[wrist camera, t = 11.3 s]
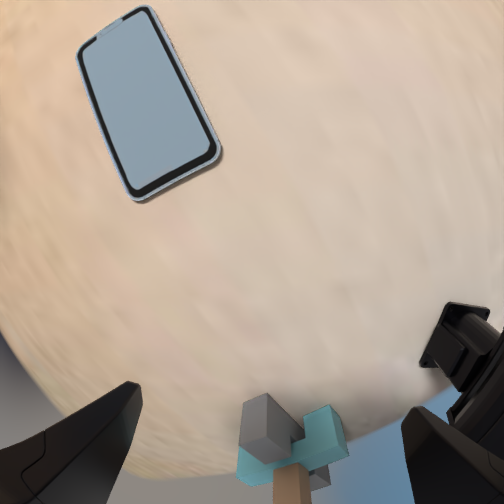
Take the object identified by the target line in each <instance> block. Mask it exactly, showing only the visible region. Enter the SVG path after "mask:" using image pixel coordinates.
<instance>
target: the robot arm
mask: <svg viewBox="0 0 504 504" xmlns="http://www.w3.org/2000/svg"><path fill="white" fill-rule="evenodd" d="M450 307H451V308H450ZM449 308H450V309H449ZM489 314H490V310H489V309H488V308H486V307H480V306H474V305H468V304H461V303H455V302H448V303H447V304H446V306H445V308H444V310H443V313H442V315H441V318H440V320H439V322H438V325H437V327H436V329H435V331H434V333H433V336H432V338H431V340H430V342H429V344H428V346H427V348H426V350H425V352H424V354H423V356H422V358H421V360H420V362H419V363H420V365H421V367H423V368H440V369H441V371H442V372H443V373H444V375H445V376H446V377H448V378H449V380H450V381H451V382H452V384H453V385H454V386H455V388H456V389H457V391H458V392H461V393H462V395H461V396H460V397H459V399H458V400H457V401H456V402H455V404H454V405H453V406H452V407H450V408H449V410H448V411H447V412H446V414H447V417H448V421H449V425H448V424H447V423H446V422H444V421H443V420H442V419H440V418H439V417H437V416H436V415H435V414H433V413H432V412H430V411H429V410H427V409H426V408H425V407H423V406H418V407H413V408H412V409H411V410H410V411H409V413H408V414H407V416H406V417H405V419H404V420H403V422H402V424H401V431H402V437H403V444H404V452H405V459H406V464H407V468H408V473H409V477H410V482H411V487H412V491H413V496H414V502H415V504H504V327H503V331H502V333H499V332H498V331H497V330H496V329H495V328H493V327H492V326H491V325H490V324H489V323H487V322H486V321H487V319H488V317H489ZM142 405H143V400H142V392H141V386H140V384H138V383H134V382H131V381H126V382H125V383H123V384H121V385H120V386H118V387H117V388H115V389H113V390H112V391H110V392H108V393H107V394H105V395H103V396H102V397H100V398H99V399H97V400H95V401H94V402H92V403H90V404H88V405H87V406H85V407H83V408H82V409H80V410H78V411H77V412H75V413H73V414H71V415H70V416H68V417H66V418H65V419H63V420H61V421H59V422H58V423H56V424H54V425H52V426H50V427H49V428H47V429H46V430H45V431H44V430H43V431H41V432H40V433H38V434H36V435H34V436H32V437H30V438H28V439H26V440H24V441H22V442H20V443H17V444H15V445H12V446H9V447H7V448H4V449H1V450H0V504H106V503H107V500H108V498H109V496H110V493H111V491H112V488H113V486H114V484H115V481H116V479H117V477H118V474H119V472H120V470H121V467H122V465H123V463H124V460H125V458H126V456H127V454H128V451H129V449H130V446H131V443H132V440H133V436H134V433H135V429H136V426H137V423H138V419H139V416H140V413H141V409H142Z"/></svg>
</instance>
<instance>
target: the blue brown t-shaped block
mask: <svg viewBox="0 0 504 504" xmlns="http://www.w3.org/2000/svg"><path fill="white" fill-rule="evenodd" d="M303 421H304V429H305V439H302V440H300V441H297V442H294V443H291V457H289V458H286V459H282V460H279V461H276V462H273V463H269V464H266V465H265V464H263V463H262V462H261V461H259V460H258V459H256V458H255V457H254V456H252V455H251V454H249V453H248V452H247V451H245V450H244V449H243V448H241V447H240V446H239V454H238V463H237V472H236V478H237V479H239V480H241V481H243V482H244V483H246V484H248V485H249V486H256V485H261V484H265V483H270V482H273V504H312V502H311V491H310V481H309V471H311V470H313V469H316V468H319V467H322V466H325V465H327V464H330V463H333V462H335V461H338V460H340V459H342V458H345V457H347V456H349V453H348V449H347V445H346V441H345V436H344V432H343V428H342V424H341V421H340V417H339V416H338V414H337V413H336V412H335V411H334V410H333V408H332V407H331V406H330V405H327V406H325V407H323V408H321V409H318V410H316V411H314V412H312V413H309V414H307V415H305V416H303Z"/></svg>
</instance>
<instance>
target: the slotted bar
mask: <svg viewBox="0 0 504 504" xmlns="http://www.w3.org/2000/svg"><path fill="white" fill-rule="evenodd" d="M302 439H305V431H304V430H303V429H302V428H301V427H300V426H299V425H298V424H297V423H296V422H295V421H294V420H293V419H292V418H291V417H290V416H289V415H288V414H287V413H286V412H285V411H284V410H283V409H282V408H281V407H280V406H279V405H278V404H277V403H276V402H275V401H274V400H273V399H272V398H271V397H270V396H269V394H268V393H266V394H263V395H261V396H259V397H256V398H254V399H252V400H249V401H247V402H244V403H243V410H242V419H241V428H240V438H239V446H240V447H241V448H243V449H244V450H245V451H247V452H248V453H249V454H251V455H252V456H254V457H255V458H256V459H258V460H259V461H261V462H262V463H263V464H265V465H266V464H269V463H273V462H276V461H279V460H282V459H286V458H289V457H291V443H294V442H297V441H300V440H302ZM309 481H310V491H314V490H317V489H320V488H323V487H326V486H329V485H331V482H330V476H329V469H328V464H327V465H325V466H322V467H319V468H316V469H313V470H311V471H309Z"/></svg>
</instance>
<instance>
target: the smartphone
mask: <svg viewBox="0 0 504 504" xmlns="http://www.w3.org/2000/svg"><path fill="white" fill-rule="evenodd" d="M75 59H76V62H77V66H78V69H79V72H80V75H81V79H82V82H83V85H84V88H85V91H86V94H87V97H88V100H89V102H90V105H91V108H92V111H93V114H94V116H95V119H96V122H97V124H98V127H99V130H100V132H101V135H102V137H103V140H104V142H105V145H106V147H107V150H108V152H109V155H110V157H111V160H112V162H113V164H114V167H115V169H116V171H117V174H118V176H119V178H120V180H121V183H122V185H123V187H124V189H125V191H126V194H127V195H128V196H129V197H130V198H131V199H132V200H135V201H141V200H144V199H147V198H148V197H150V196H152V195H153V194H155V193H157V192H159V191H160V190H162V189H164V188H166V187H168V186H170V185H171V184H173V183H175V182H177V181H178V180H180V179H182V178H184V177H186V176H188V175H190V174H192V173H194V172H195V171H198V170H200V169H201V168H204V167H206V166H207V165H210V164H212V163H213V162H215V161H216V160H217V159H218V157H219V156H220V153H221V144H220V142H219V139H218V137H217V135H216V133H215V131H214V129H213V127H212V125H211V123H210V121H209V119H208V117H207V115H206V113H205V110H204V108H203V106H202V104H201V102H200V100H199V98H198V96H197V94H196V92H195V90H194V88H193V86H192V84H191V82H190V80H189V78H188V76H187V74H186V72H185V70H184V68H183V66H182V64H181V62H180V60H179V58H178V56H177V54H176V52H175V50H174V48H173V46H172V43H171V41H170V39H169V37H168V35H167V33H166V32H165V30H164V29H163V27H162V25H161V23H160V21H159V19H158V17H157V15H156V13H155V11H154V10H153V9H152V7H151V6H149V5H140V6H138V7H136V8H134V9H132V10H131V11H129V12H127V13H126V14H124V15H123V16H121V17H120V18H118V19H116V20H115V21H113V22H112V23H110V24H109V25H108V26H106V27H105V28H103V29H102V30H100V31H99V32H98V33H96V34H95V35H94V36H92V37H91V38H90V39H88V40H87V41H86V42H84V43H83V44H82V45H81V46H80V47H79V49H78V50H77V52H76V56H75Z"/></svg>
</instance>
